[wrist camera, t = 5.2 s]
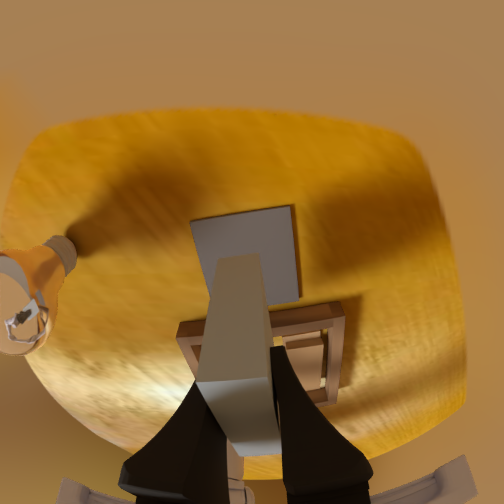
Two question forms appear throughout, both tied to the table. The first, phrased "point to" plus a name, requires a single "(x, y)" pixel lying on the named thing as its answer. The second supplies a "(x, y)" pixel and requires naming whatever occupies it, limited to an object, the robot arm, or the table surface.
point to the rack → (285, 325)
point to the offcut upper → (306, 361)
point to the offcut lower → (301, 336)
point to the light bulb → (32, 293)
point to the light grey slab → (240, 358)
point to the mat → (252, 247)
